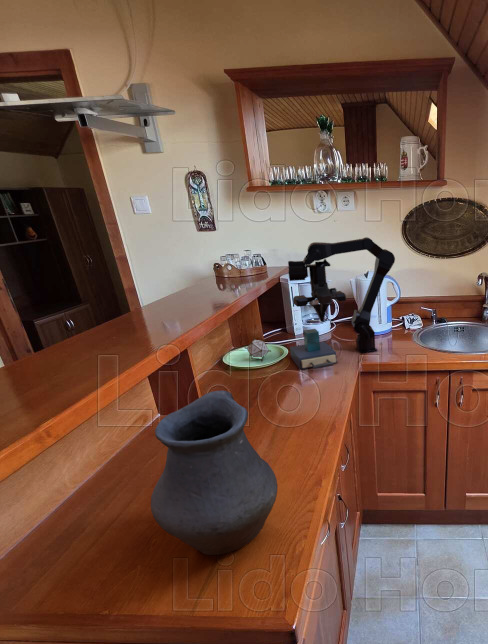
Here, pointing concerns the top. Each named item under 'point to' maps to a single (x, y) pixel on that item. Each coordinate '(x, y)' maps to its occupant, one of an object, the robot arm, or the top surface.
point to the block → (311, 340)
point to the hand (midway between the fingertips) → (321, 321)
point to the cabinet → (310, 353)
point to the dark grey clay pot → (212, 477)
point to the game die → (257, 348)
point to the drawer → (319, 361)
